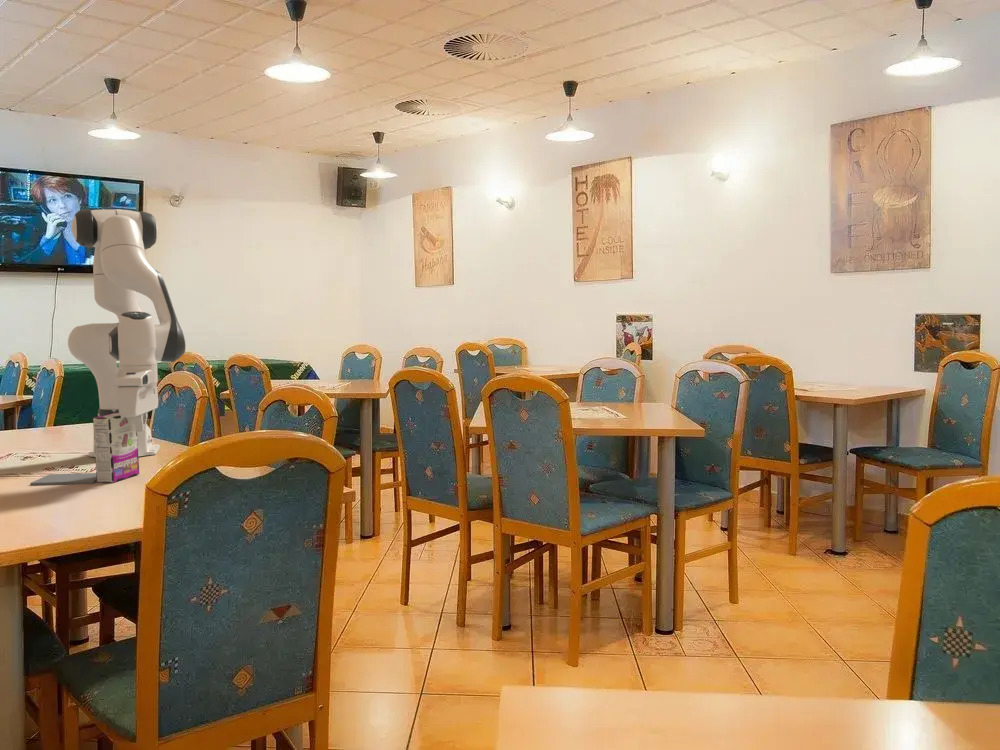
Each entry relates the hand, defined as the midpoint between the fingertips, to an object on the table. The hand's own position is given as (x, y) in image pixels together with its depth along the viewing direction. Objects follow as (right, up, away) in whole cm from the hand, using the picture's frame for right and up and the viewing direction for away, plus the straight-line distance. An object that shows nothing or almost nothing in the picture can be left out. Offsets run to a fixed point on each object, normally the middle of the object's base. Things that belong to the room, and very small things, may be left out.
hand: (140, 430), depth 208 cm
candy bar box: (-6, -12, 0) cm, 14 cm away
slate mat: (-17, -12, -1) cm, 21 cm away
